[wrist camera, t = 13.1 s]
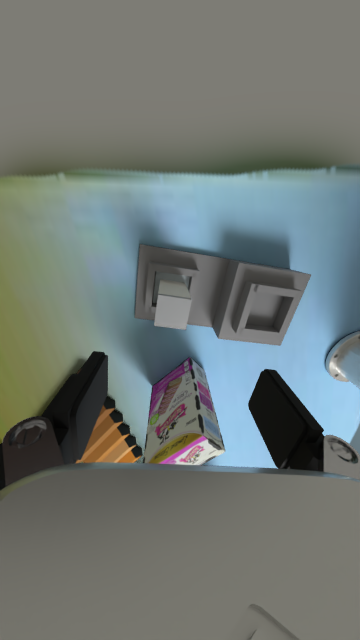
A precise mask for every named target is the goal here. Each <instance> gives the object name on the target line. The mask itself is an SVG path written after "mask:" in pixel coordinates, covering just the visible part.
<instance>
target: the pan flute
mask: <svg viewBox="0 0 360 640" xmlns="http://www.w3.org/2000/svg"><path fill="white" fill-rule="evenodd" d="M81 369H82V368H81ZM81 369H80V370H81ZM80 370H79V371H78V372H77V374H78V373H79V372H80ZM114 409H115V401H114V400H112V399H110V398H108V397H106V399H105V402H104V404H103V407H102V409H101V412H100V414H99V417H98V419H97V422H96V424H95V427H94V429H93V432H92V434H91V437H90V439H89V442H88V444H87V447H86V449H85V452H84V454H83V456H82V458H81V460H77V461H76V463H79V462H82V461H83V462H84V463H92V462H113V463H134V462H135V461H136V460H137V459H139V458H140V457H141V456H142V448H140V447H138V446H136V438H135V437H133V436H131V435H129V434H130V428H129V426H127V425H125V424H123V423H122V422H123V414H121V413H119V412H117V411H115V410H114Z"/></svg>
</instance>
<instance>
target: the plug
mask: <svg viewBox="0 0 360 640" xmlns="http://www.w3.org/2000/svg"><path fill="white" fill-rule="evenodd" d="M191 302H192V299H191V296H190V294H189V291H188V289H187V287H186V284H185V283H183V282H177V281H171V280H164V279H160V285H159V292H158V299H157V307H156V314H155V322H154V326H159V327H168V328H176V329H184V330H186V326H187V321H188V316H189V311H190V307H191Z"/></svg>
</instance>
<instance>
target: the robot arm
mask: <svg viewBox="0 0 360 640" xmlns="http://www.w3.org/2000/svg"><path fill="white" fill-rule="evenodd" d="M326 370H327V372H328V373H329V375H331V376H332V377H333V378H334V379H336V380H339V381H344V382H349V381H350V382H351V383H352V384H354V385H355V386H356V387H358V388H359V389H360V331H357V332H355V333H352V334H350V335H348V336H346V337H344V338H343V339H342V340H340V341H339V342H338V343H337V344H336V345H335V346H334V347H333V348H332V349H331V351H330V353H329V354H328V357H327V359H326ZM107 391H108V356H107V355H105V353H104V352H96V351H94V352H92V354H91V355H90V357H89V358H88V360H87V361H86V363H85V364H84V366H83V367H82V369H81V370H80V372H79V373H78V374H72V375H71V376H70V377H69V378H68V380H67V381H66V383H65V384H64V385H63V387H62V388H61V389H60V391H59V392H58V394H57V395H56V396H55V398H54V399H53V400H52V402H51V403H50V405H49V406H48V407H47V409H46V410H45V411H44V413H43V414H42V416H36V417H31V418H27V419H25V420H23V421H21V422H19V423H17V424H16V425H15V426H13V427H12V428H11V429H10V430H9V431H8V432H7V433H6V435H5V437H4V438H3V443H1V444H0V640H360V455H359V454H358V452H357V451H356V450H355V449H354V448H353V447H352V446H351V445H350V444H348V443H347V442H346V441H344V440H342V439H341V438H339V437H336V436H333V435H326V436H325V437H324V435H323V434H322V432H323V431H324V430H323V428H322V427H321V426H320V425H319V423H318V422H317V421H316V420H315V418H314V417H313V416H312V415H311V413H310V412H309V411H308V410H307V408H306V407H305V406H304V405H303V404H302V402H301V401H300V400H299V399H298V397H297V396H296V395H295V394H294V392H293V391H292V390H291V389H290V387H289V386H288V385H287V384H286V382H285V381H284V380H283V379H282V377H281V376H280V375H279V374H278V373H277V371H276V370H270V369H265V370H264V371H262V372H261V374H260V376H259V379H258V381H257V383H256V386H255V388H254V391H253V393H252V396H251V398H250V400H249V403H248V406H249V410H250V412H251V414H252V416H253V418H254V420H255V423H256V425H257V427H258V429H259V431H260V433H261V435H262V437H263V440H264V442H265V444H266V446H267V448H268V450H269V452H270V455H271V457H272V459H273V461H274V463H275V465H276V467H277V468H279V469H276V468H255V467H232V466H208V465H182V464H153V463H113V462H92V463H76V461H77V460H81V458H82V456H83V454H84V452H85V449H86V447H87V444H88V442H89V439H90V437H91V434H92V432H93V429H94V427H95V424H96V422H97V419H98V417H99V414H100V412H101V409H102V407H103V404H104V402H105V399H106V396H107Z"/></svg>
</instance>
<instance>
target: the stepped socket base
mask: <svg viewBox="0 0 360 640" xmlns="http://www.w3.org/2000/svg"><path fill="white" fill-rule="evenodd" d="M310 277H311V275H310V274H306V273H302V272H299V271H295V270H291V269H285V268H279V267H273V266H267V265H261V264H255V263H249V262H244V261H238V260H232V259H226V258H220V257H214V256H208V255H202V254H196V253H190V252H184V251H178V250H172V249H166V248H160V247H154V246H148V245H142V244H140V250H139V264H138V279H137V293H136V307H135V318H139V319H147V320H155V314H156V307H157V299H158V292H159V285H160V279H164V280H171V281H177V282H183V283H185V284H186V287H187V289H188V291H189V294H190V296H191V299H192V302H191V307H190V311H189V316H188V321H187V324H189V325H198V326H206V327H213V329H214V331H215V333H216V335H217V337H218V339H226V340H235V341H244V342H253V343H262V344H271V345H281V343H282V341H283V338H284V336H285V334H286V332H287V329H288V327H289V325H290V322H291V320H292V318H293V315H294V313H295V311H296V309H297V306H298V304H299V302H300V299H301V297H302V295H303V293H304V290H305V288H306V286H307V283H308V281H309V279H310Z"/></svg>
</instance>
